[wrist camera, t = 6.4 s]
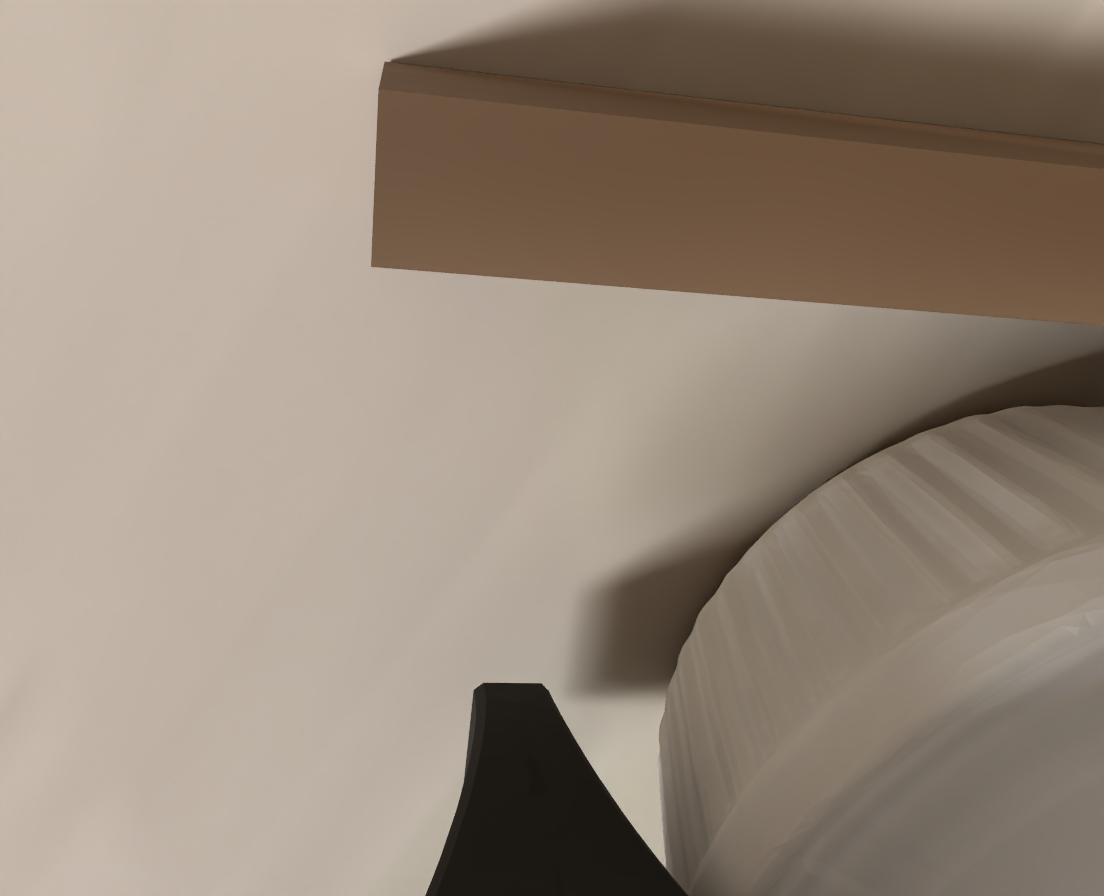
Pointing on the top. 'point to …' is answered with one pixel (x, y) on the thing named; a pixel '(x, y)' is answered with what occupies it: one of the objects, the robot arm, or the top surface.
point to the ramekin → (905, 679)
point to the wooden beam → (731, 198)
